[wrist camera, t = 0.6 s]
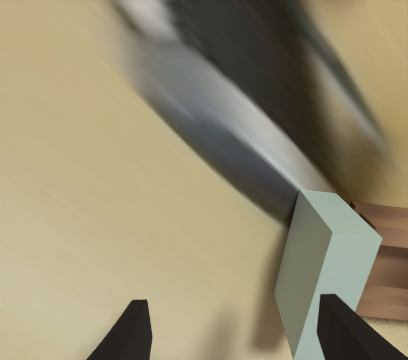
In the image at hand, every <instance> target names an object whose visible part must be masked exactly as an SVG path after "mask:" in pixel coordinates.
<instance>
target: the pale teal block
mask: <svg viewBox="0 0 408 360" xmlns="http://www.w3.org/2000/svg"><path fill="white" fill-rule="evenodd" d="M382 239H383V238H382V237H381V236H380V235H379V234H378V233H377V232H376V231H375V230H374V229H373V228H371V227H370V226H369V225H368V224H367V223H366V222H365V221H364V220H363V219H362V218H361V217H360V216H359V215H358V214H357V213H356V212H355V211H354V210H353V209H352V208H351V207H350V206H349V205H348V204H347V203H345V202H344V201H343V200H342V199H341V198H340V197H339V196H338V195H337V194H336V193H327V192H319V191H310V190H302V189H299V193H298V197H297V201H296V205H295V209H294V213H293V217H292V221H291V225H290V229H289V233H288V237H287V241H286V245H285V249H284V253H283V257H282V261H281V265H280V269H279V273H278V277H277V281H276V285H275V289H274V296H275V300H276V303H277V306H278V310H279V313H280V316H281V320H282V323H283V327H284V330H285V333H286V337H287V340H288V344H289V347H290V350H291V354H292V357H293V360H325V358H324V355H323V352H322V349H321V346H320V343H319V339H318V336H317V333H316V331H317V322H318V312H319V302H320V294H336V295H337V296H338V297H339V298H341V299H342V300H343V301H344V302H345V303H346V304H347V305H348V306H349V307H350V308H351V309H352V310H353V311H354V312H355V310H356V308H357V305H358V302H359V300H360V297H361V294H362V292H363V289H364V286H365V284H366V281H367V279H368V276H369V273H370V271H371V268H372V265H373V263H374V260H375V257H376V255H377V252H378V249H379V247H380V244H381V241H382Z"/></svg>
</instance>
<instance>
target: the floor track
mask: <svg viewBox="0 0 408 360" xmlns="http://www.w3.org/2000/svg"><path fill="white" fill-rule="evenodd" d="M350 207H351V208H352V209H353V210H354V211H355V212H356V213H357V214H358V215H359V216H360V217H361V218H362V219H363V220H364V221H365V222H366V223H367V224H368V225H369V226H370V227H371V228H373V229H374V230H375V231H376V232H377V233H378V234H379V235H380V236H381V237H382V238H383V239H382V241H381V244H380V247H379V249H378V252H377V255H376V257H375V260H374V263H373V265H372V268H371V271H370V273H369V276H368V279H367V281H366V284H365V286H364V289H363V292H362V294H361V297H360V300H359V302H358V305H357V308H356V310H355V313H356V314H358V315H359V316H368V317H377V318H387V319H396V320H406V321H408V209H407V208H399V207H390V206H382V205H373V204H365V203H356V202H352V203H351V206H350Z"/></svg>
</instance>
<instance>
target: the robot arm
mask: <svg viewBox="0 0 408 360" xmlns="http://www.w3.org/2000/svg"><path fill="white" fill-rule="evenodd" d="M316 333H317V336H318V339H319V343H320V346H321V349H322V352H323V355H324V358H325V360H408V357H406V356H405V355H404V354H403V353H401V352H400V351H399V350H398V349H396V348H395V347H394V346H393V345H391V344H390V343H389V342H388V341H387V340H385V339H384V338H383V337H382V336H381V335H380V334H378V333H377V332H376V331H375V330H374V329H373V328H372V327H371V326H369V325H368V324H367V323H366V322H365V321H364V320H363V319H362V318H361V317H360V316H359V315H358V314H356V313H355V312H354V311H353V310H352V309H351V308H350V307H349V306H348V305H347V304H346V303H345V302H344V301H343V300H342V299H341V298H339V297H338V296H337V295H336V294H320V302H319V312H318V322H317V331H316ZM151 344H152V330H151V323H150V316H149V309H148V302H147V300H132V301H131V302H130V304H129V305H128V307H127V308H126V309H125V311H124V312H123V314H122V315H121V317H120V318H119V319H118V321H117V322H116V323H115V325H114V326H113V327H112V329H111V330H110V331H109V333H108V334H107V335H106V336H105V338H104V339H103V340H102V342H101V343H100V344H99V345H98V346H97V348H96V349H95V350H94V351H93V352H92V354H91V355H90V356H89V357H88V358H87V359H86V360H149V358H150V351H151Z"/></svg>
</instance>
